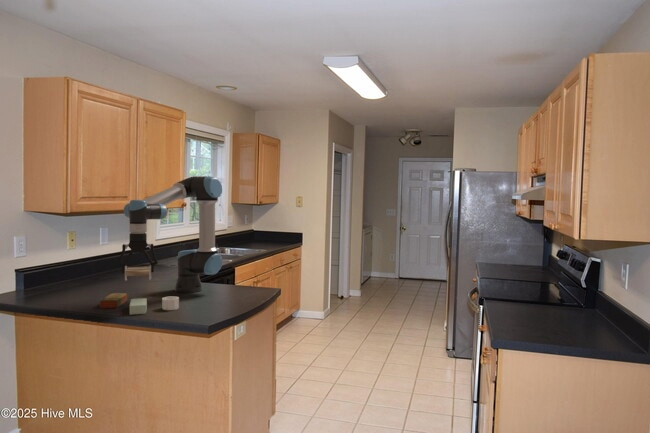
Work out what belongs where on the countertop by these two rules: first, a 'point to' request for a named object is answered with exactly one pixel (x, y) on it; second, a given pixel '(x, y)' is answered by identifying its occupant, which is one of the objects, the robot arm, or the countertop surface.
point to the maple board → (137, 271)
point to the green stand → (138, 306)
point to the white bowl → (170, 303)
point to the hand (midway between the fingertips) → (138, 279)
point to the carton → (113, 300)
